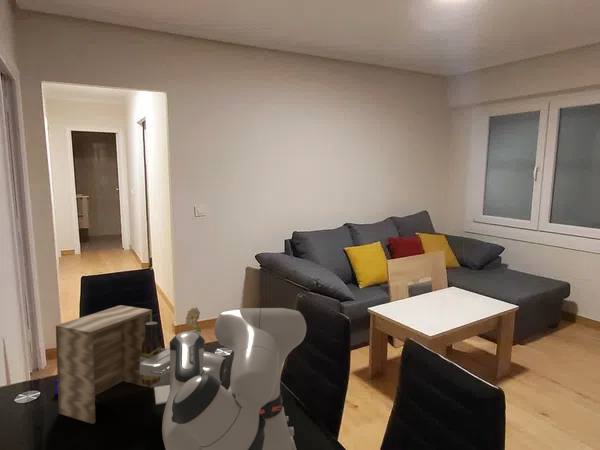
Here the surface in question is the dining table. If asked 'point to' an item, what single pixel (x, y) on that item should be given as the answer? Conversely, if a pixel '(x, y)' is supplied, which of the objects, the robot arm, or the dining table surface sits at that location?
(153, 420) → the dining table surface
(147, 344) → the sauce bottle
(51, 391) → the dining table surface
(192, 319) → the flower in vase
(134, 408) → the dining table surface
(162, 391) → the plate
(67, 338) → the cubby
